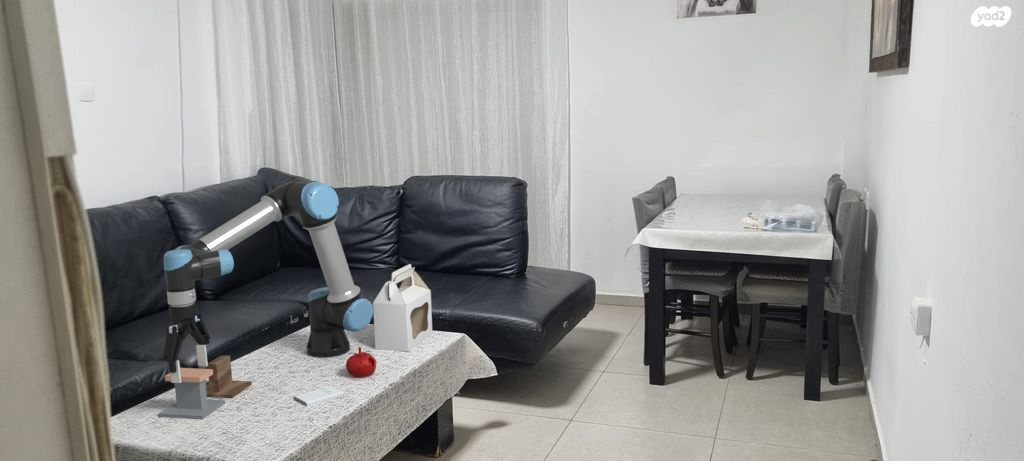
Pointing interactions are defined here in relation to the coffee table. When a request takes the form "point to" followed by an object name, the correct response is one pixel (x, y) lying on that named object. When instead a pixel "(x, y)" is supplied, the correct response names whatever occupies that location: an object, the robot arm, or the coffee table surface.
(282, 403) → the coffee table surface
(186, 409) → the slate stand
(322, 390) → the external hard drive
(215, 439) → the coffee table surface
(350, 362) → the pomegranate
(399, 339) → the gable box
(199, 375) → the terracotta tile
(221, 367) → the walnut stand
